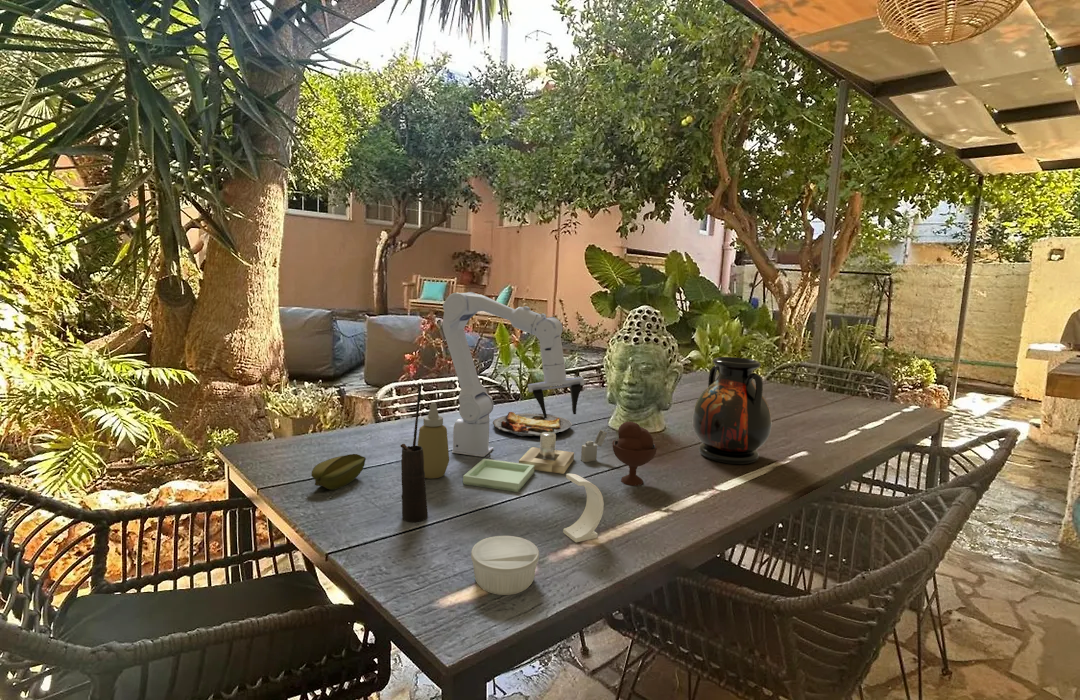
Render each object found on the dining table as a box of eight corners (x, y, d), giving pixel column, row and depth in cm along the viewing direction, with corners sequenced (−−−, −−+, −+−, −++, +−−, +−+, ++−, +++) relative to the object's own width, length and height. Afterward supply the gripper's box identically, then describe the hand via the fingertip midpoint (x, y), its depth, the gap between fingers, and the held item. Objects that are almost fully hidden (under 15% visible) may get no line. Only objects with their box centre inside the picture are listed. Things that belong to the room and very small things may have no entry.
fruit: (312, 477, 138) (312, 450, 137) (365, 473, 142) (365, 447, 141) (311, 496, 127) (311, 466, 126) (368, 491, 131) (368, 462, 130)
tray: (462, 484, 138) (463, 475, 137) (483, 466, 151) (483, 458, 150) (518, 492, 134) (518, 483, 134) (534, 472, 147) (534, 465, 147)
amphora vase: (673, 449, 172) (681, 355, 168) (728, 442, 182) (736, 353, 178) (727, 473, 153) (737, 368, 149) (785, 463, 163) (795, 365, 159)
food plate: (481, 433, 180) (482, 422, 180) (507, 416, 202) (508, 406, 202) (560, 444, 173) (560, 432, 173) (578, 425, 195) (578, 414, 195)
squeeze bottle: (454, 472, 145) (456, 401, 143) (438, 483, 138) (440, 408, 135) (426, 467, 148) (427, 397, 145) (408, 477, 140) (409, 404, 138)
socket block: (518, 467, 150) (518, 460, 150) (531, 454, 162) (531, 447, 162) (563, 473, 147) (564, 466, 147) (573, 459, 159) (574, 452, 159)
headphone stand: (563, 532, 115) (566, 473, 113) (588, 527, 117) (592, 469, 116) (575, 542, 111) (579, 481, 109) (601, 536, 113) (605, 477, 112)
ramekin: (503, 608, 88) (505, 576, 88) (455, 580, 96) (456, 550, 95) (552, 581, 97) (553, 551, 96) (504, 557, 104) (505, 529, 103)
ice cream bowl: (627, 492, 137) (632, 430, 135) (601, 476, 147) (605, 418, 144) (663, 486, 142) (668, 426, 140) (635, 471, 151) (639, 415, 149)
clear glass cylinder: (537, 464, 153) (538, 435, 152) (541, 460, 157) (542, 431, 156) (552, 466, 152) (553, 437, 151) (556, 462, 156) (557, 433, 155)
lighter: (584, 462, 157) (585, 433, 156) (580, 460, 159) (582, 431, 157) (605, 458, 161) (607, 430, 160) (601, 457, 162) (603, 429, 161)
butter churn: (377, 514, 119) (377, 379, 115) (417, 502, 126) (419, 374, 122) (401, 530, 113) (402, 387, 109) (442, 517, 119) (445, 382, 115)
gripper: (526, 369, 147) (533, 422, 148) (583, 361, 148) (589, 414, 149) (525, 366, 154) (531, 417, 155) (579, 359, 155) (585, 409, 156)
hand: (560, 415), depth 152 cm, fingers open, 7 cm apart
